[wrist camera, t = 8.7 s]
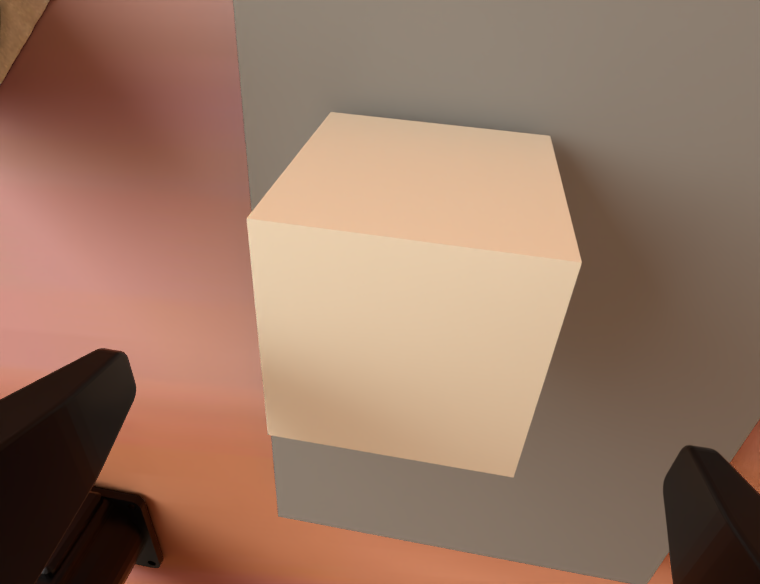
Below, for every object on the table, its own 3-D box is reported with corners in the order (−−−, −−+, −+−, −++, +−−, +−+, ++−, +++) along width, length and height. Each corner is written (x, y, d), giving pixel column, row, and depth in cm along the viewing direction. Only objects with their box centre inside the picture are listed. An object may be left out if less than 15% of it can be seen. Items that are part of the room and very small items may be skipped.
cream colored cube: (507, 313, 16) (513, 477, 11) (330, 287, 16) (267, 435, 12) (550, 135, 13) (581, 262, 8) (330, 112, 13) (246, 218, 9)
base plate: (637, 552, 24) (645, 586, 23) (288, 487, 26) (278, 516, 25) (986, -9, 11) (1044, 1, 10) (251, -67, 13) (227, -65, 12)
